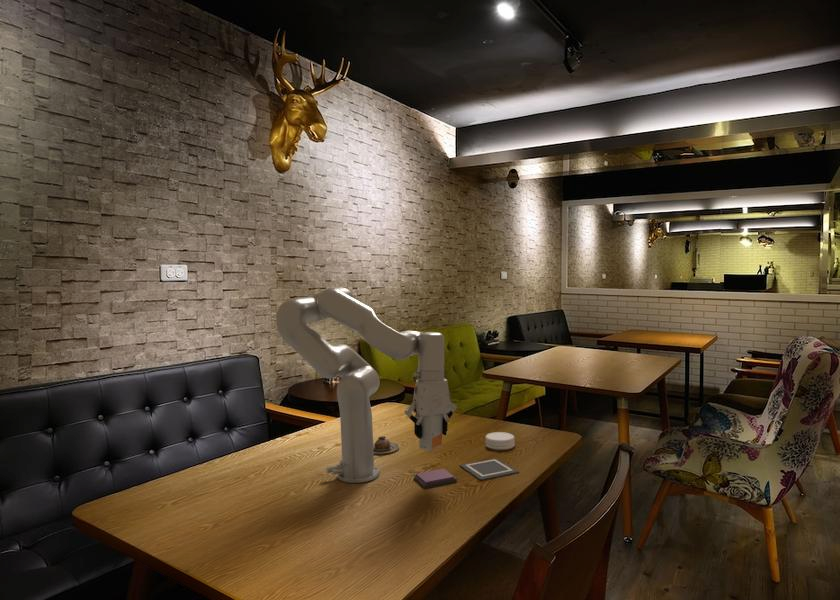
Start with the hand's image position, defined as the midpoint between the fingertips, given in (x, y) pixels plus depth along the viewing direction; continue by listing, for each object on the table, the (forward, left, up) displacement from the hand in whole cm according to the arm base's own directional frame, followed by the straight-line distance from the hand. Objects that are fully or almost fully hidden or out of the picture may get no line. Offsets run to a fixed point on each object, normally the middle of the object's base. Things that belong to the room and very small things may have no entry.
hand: (431, 435), depth 155 cm
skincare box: (0, 0, -4) cm, 4 cm away
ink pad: (+1, 0, -13) cm, 13 cm away
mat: (+19, 0, -13) cm, 23 cm away
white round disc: (+34, +18, -14) cm, 40 cm away
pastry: (-4, +33, -14) cm, 36 cm away
